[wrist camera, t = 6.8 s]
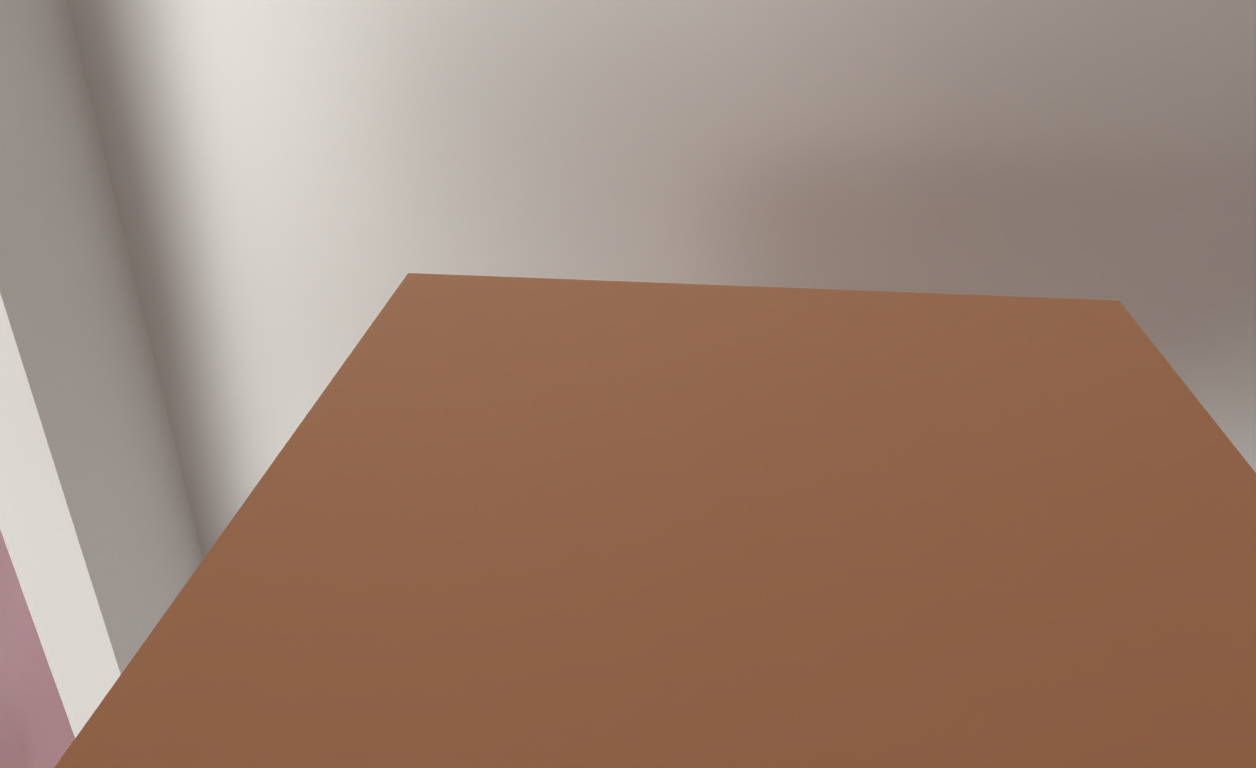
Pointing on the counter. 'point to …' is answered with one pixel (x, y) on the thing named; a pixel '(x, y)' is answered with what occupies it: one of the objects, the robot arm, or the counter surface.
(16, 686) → the counter surface
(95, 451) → the white square tray
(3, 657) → the counter surface
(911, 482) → the terracotta block
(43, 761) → the counter surface
